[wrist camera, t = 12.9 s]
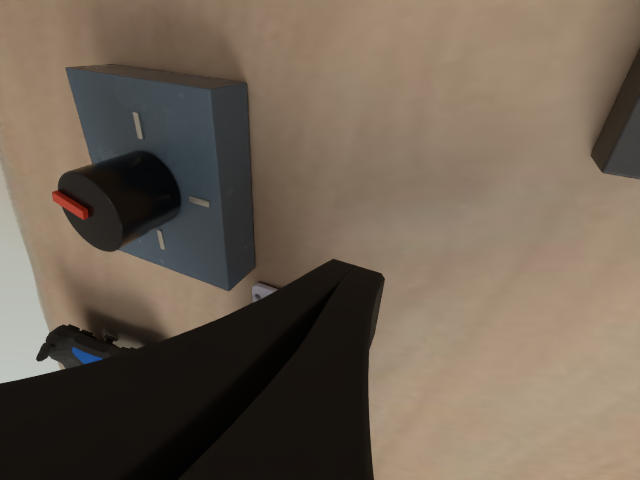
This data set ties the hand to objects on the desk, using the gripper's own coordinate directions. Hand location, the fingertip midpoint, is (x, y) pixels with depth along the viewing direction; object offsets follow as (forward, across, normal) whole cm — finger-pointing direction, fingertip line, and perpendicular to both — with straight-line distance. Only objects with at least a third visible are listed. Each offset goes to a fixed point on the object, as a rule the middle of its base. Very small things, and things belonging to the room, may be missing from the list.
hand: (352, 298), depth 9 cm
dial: (+7, +15, +3) cm, 17 cm away
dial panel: (+10, +15, +3) cm, 19 cm away
